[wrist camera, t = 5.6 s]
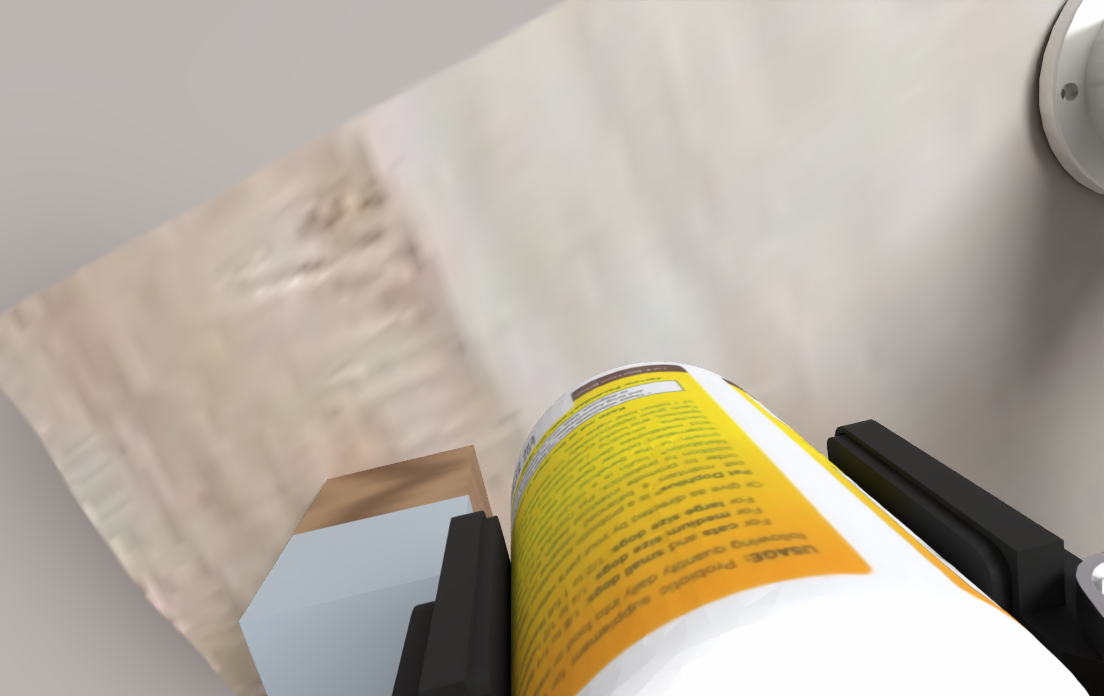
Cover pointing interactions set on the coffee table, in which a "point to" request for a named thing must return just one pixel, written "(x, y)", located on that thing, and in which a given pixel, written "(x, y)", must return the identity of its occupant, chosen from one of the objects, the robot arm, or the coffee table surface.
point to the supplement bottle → (731, 562)
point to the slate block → (347, 602)
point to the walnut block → (398, 489)
